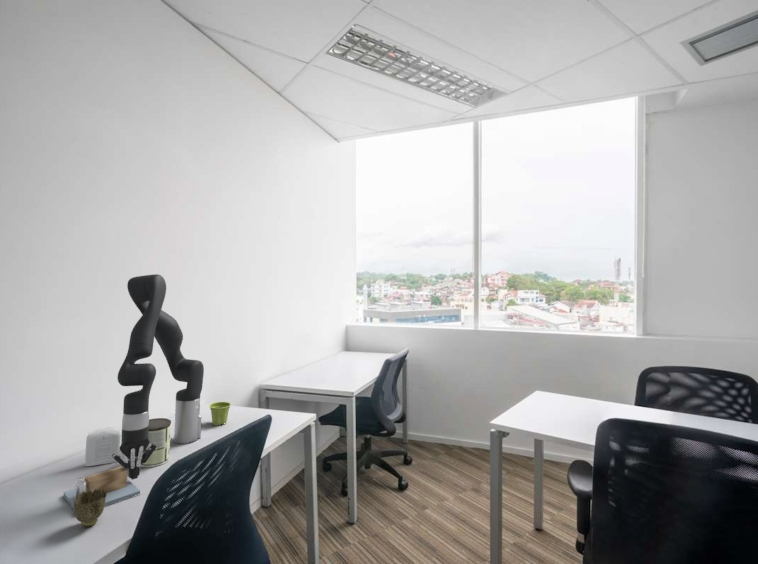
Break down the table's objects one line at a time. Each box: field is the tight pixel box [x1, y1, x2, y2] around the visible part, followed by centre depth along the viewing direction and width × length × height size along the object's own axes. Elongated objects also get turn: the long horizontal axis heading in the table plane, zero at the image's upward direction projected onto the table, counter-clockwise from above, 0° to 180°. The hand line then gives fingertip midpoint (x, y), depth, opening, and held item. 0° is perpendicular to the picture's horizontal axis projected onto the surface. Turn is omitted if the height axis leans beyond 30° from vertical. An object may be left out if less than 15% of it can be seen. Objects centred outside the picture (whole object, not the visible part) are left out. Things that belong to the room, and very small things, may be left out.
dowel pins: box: [75, 477, 86, 498], centre depth 121 cm, size 2×5×5 cm, turn 50°
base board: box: [63, 478, 141, 511], centre depth 125 cm, size 16×15×1 cm
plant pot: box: [208, 401, 232, 426], centre depth 189 cm, size 9×9×9 cm
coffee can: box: [140, 417, 172, 468], centre depth 149 cm, size 10×10×14 cm
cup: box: [73, 489, 107, 528], centre depth 111 cm, size 8×7×8 cm
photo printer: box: [84, 427, 122, 467], centre depth 146 cm, size 10×4×12 cm, turn 123°
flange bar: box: [84, 465, 128, 493], centre depth 126 cm, size 10×4×5 cm, turn 140°
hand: (133, 478), depth 132 cm, fingers closed
